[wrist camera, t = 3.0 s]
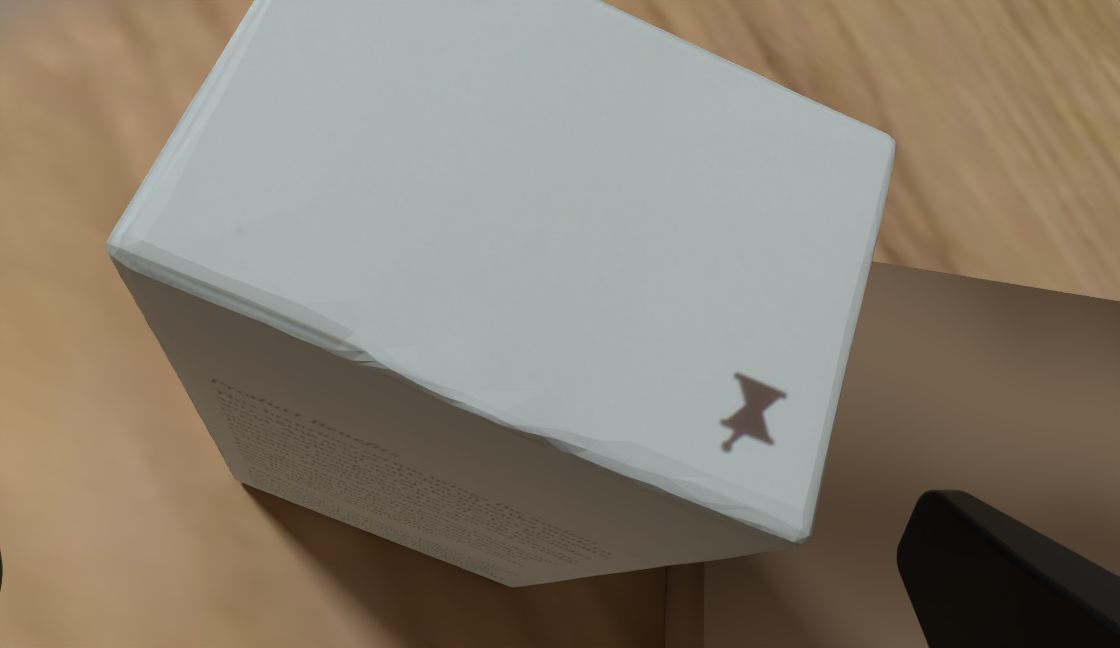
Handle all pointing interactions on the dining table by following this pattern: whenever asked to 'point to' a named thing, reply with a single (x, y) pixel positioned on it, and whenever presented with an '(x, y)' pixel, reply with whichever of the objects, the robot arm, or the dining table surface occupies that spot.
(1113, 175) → the dining table surface
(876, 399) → the walnut plinth
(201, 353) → the skincare box
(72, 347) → the dining table surface
